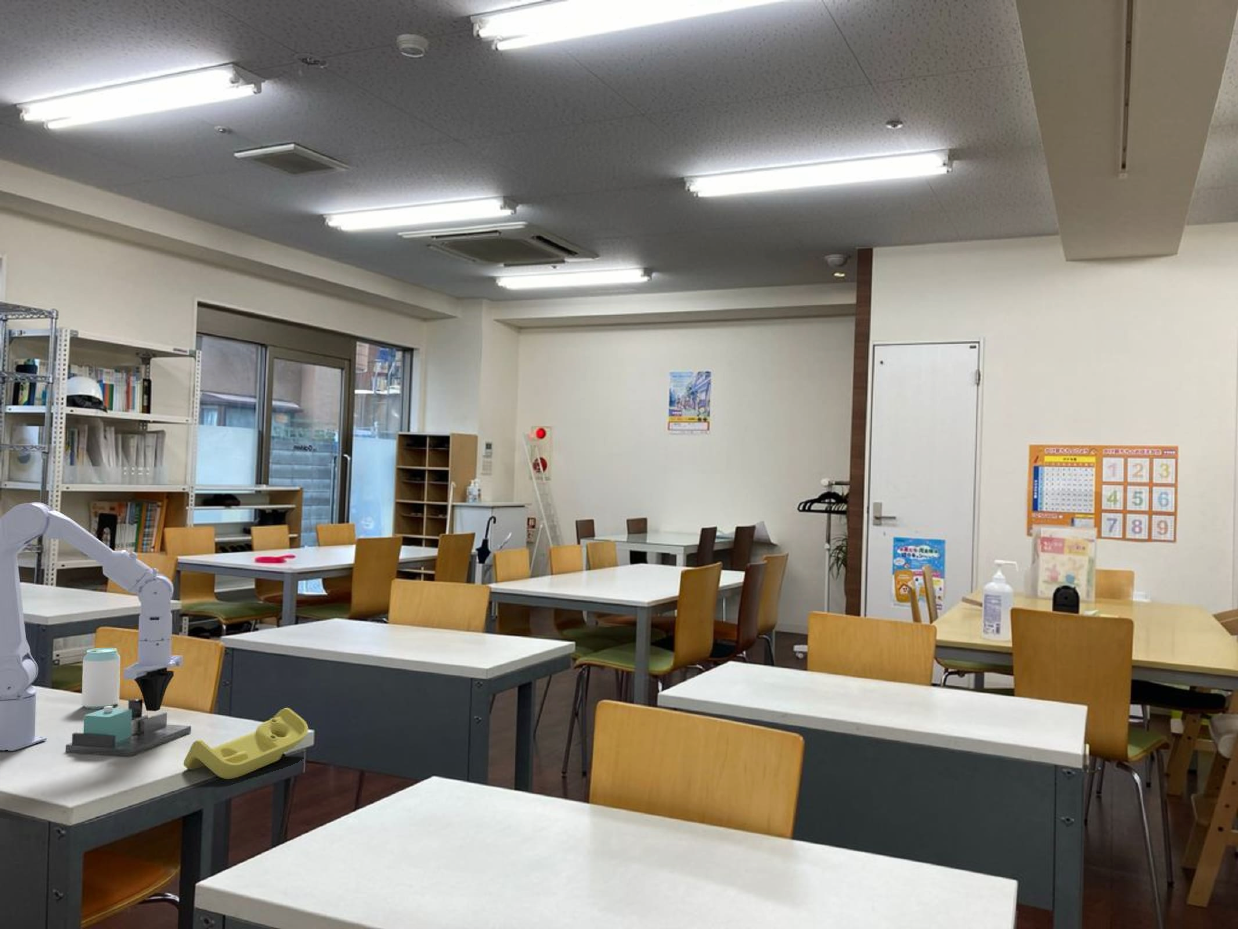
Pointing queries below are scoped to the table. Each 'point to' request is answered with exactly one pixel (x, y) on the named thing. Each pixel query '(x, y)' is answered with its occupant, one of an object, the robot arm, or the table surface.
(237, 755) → the plastic component
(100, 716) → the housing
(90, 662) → the can
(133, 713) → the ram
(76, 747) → the press bed
